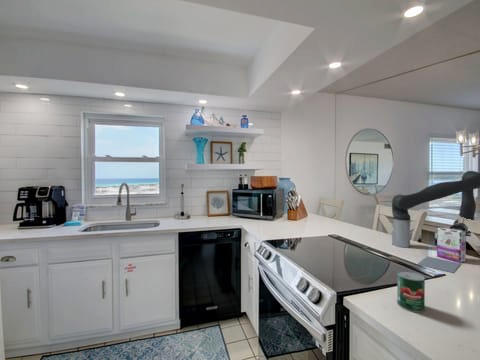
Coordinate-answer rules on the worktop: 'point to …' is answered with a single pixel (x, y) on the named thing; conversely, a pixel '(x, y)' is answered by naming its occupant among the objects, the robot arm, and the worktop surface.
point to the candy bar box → (451, 244)
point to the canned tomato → (411, 291)
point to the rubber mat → (439, 264)
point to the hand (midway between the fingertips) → (452, 234)
